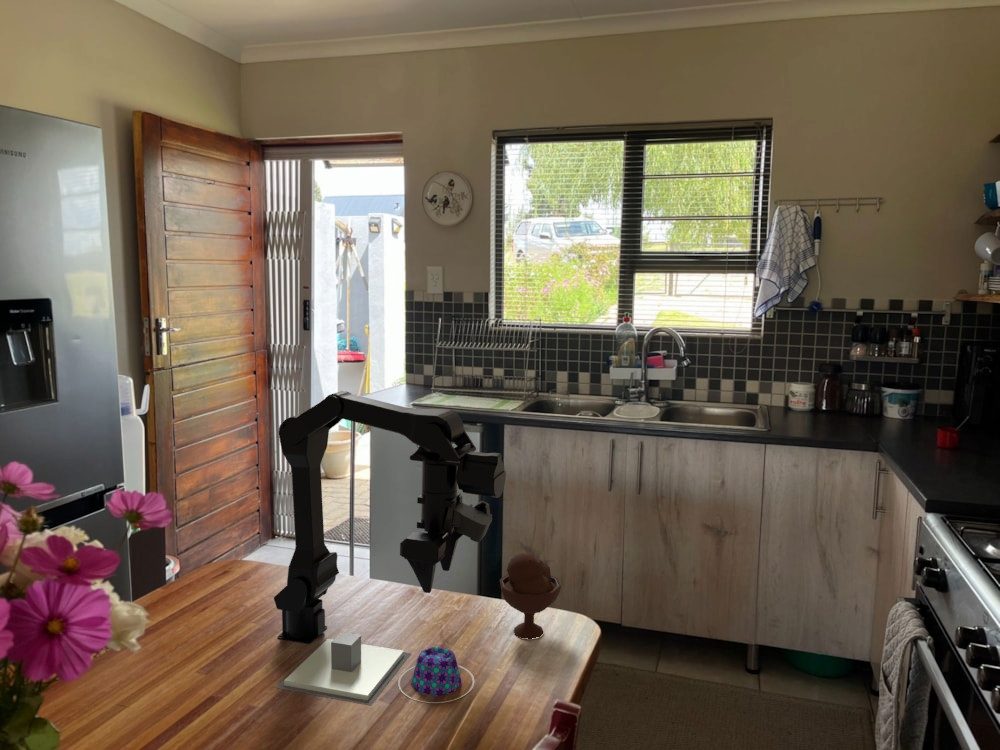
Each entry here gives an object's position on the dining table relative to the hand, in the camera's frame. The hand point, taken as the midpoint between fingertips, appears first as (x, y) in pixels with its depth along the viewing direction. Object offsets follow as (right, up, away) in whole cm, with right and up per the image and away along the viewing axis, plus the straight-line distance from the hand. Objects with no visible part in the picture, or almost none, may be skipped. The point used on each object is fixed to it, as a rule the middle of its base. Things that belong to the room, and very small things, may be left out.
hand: (437, 581), depth 123 cm
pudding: (0, -15, -5) cm, 16 cm away
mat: (-14, -14, -2) cm, 20 cm away
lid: (-14, -14, -2) cm, 20 cm away
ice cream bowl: (+15, -13, +13) cm, 24 cm away
